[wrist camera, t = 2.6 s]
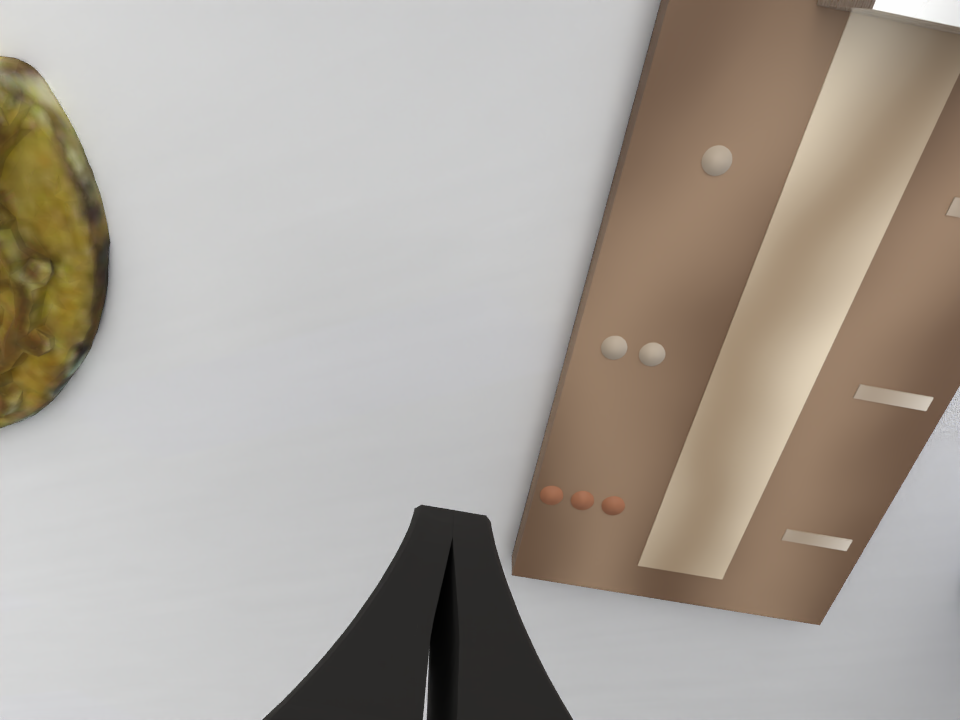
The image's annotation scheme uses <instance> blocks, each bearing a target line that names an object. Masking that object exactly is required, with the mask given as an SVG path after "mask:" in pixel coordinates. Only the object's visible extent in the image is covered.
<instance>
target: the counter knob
mask: <svg viewBox="0 0 960 720" xmlns="http://www.w3.org/2000/svg"><path fill="white" fill-rule="evenodd" d="M817 5H818V6H823V7H828V8H833V9H838V10H842V11H847V12H852V13H857V14H862V15H867V16H872V17H876V18H881V19H886V20H891V21H896V22H901V23H905V24H910V25H915V26H920V27H925V28H930V29H934V30H939V31H944V32H949V33H954V34H959V35H960V0H818V3H817Z"/></svg>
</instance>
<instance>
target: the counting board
mask: <svg viewBox="0 0 960 720" xmlns="http://www.w3.org/2000/svg"><path fill="white" fill-rule="evenodd" d="M817 3H818V0H661V3H660V7H659V10H658V14H657V18H656V22H655V25H654V29H653V33H652V36H651V40H650V44H649V48H648V51H647V55H646V59H645V63H644V66H643V70H642V74H641V77H640V81H639V85H638V89H637V92H636V96H635V100H634V103H633V107H632V111H631V115H630V118H629V122H628V126H627V130H626V133H625V137H624V141H623V144H622V148H621V152H620V156H619V159H618V163H617V167H616V170H615V174H614V178H613V182H612V185H611V189H610V193H609V197H608V200H607V204H606V208H605V211H604V215H603V219H602V223H601V226H600V230H599V234H598V237H597V241H596V245H595V249H594V252H593V256H592V260H591V263H590V267H589V271H588V275H587V278H586V282H585V286H584V290H583V293H582V297H581V301H580V304H579V308H578V312H577V316H576V319H575V323H574V327H573V330H572V334H571V338H570V342H569V345H568V349H567V353H566V357H565V360H564V364H563V368H562V371H561V375H560V379H559V383H558V386H557V390H556V394H555V397H554V401H553V405H552V409H551V412H550V416H549V420H548V424H547V427H546V431H545V435H544V438H543V442H542V446H541V450H540V453H539V457H538V461H537V464H536V468H535V472H534V476H533V479H532V483H531V487H530V491H529V494H528V498H527V502H526V505H525V509H524V513H523V517H522V520H521V524H520V528H519V531H518V535H517V539H516V543H515V546H514V550H513V554H512V575H514V576H520V577H526V578H533V579H539V580H545V581H551V582H557V583H563V584H570V585H576V586H582V587H588V588H594V589H600V590H607V591H613V592H619V593H625V594H631V595H637V596H644V597H650V598H656V599H662V600H668V601H674V602H680V603H687V604H693V605H699V606H705V607H711V608H717V609H724V610H730V611H736V612H742V613H748V614H754V615H761V616H767V617H773V618H779V619H785V620H791V621H798V622H804V623H810V624H816V625H820V624H821V622H822V620H823V619H824V617H825V615H826V614H827V612H828V610H829V608H830V607H831V605H832V603H833V602H834V600H835V598H836V596H837V595H838V593H839V591H840V590H841V588H842V586H843V584H844V583H845V581H846V579H847V578H848V576H849V574H850V573H851V571H852V569H853V567H854V566H855V564H856V562H857V561H858V559H859V557H860V555H861V554H862V552H863V550H864V549H865V547H866V545H867V543H868V542H869V540H870V538H871V537H872V535H873V533H874V531H875V530H876V528H877V526H878V525H879V523H880V521H881V519H882V518H883V516H884V514H885V513H886V511H887V509H888V507H889V506H890V504H891V502H892V501H893V499H894V497H895V495H896V494H897V492H898V490H899V489H900V487H901V485H902V483H903V482H904V480H905V478H906V477H907V475H908V473H909V471H910V470H911V468H912V466H913V465H914V463H915V461H916V459H917V458H918V456H919V454H920V453H921V451H922V449H923V448H924V446H925V444H926V442H927V441H928V439H929V437H930V436H931V434H932V432H933V430H934V429H935V427H936V425H937V424H938V422H939V420H940V418H941V417H942V415H943V413H944V412H945V410H946V408H947V406H948V405H949V403H950V401H951V400H952V398H953V396H954V394H955V393H956V391H957V389H958V388H959V386H960V35H959V34H954V33H949V32H944V31H939V30H934V29H930V28H925V27H920V26H915V25H910V24H905V23H901V22H896V21H891V20H886V19H881V18H876V17H872V16H867V15H862V14H857V13H852V12H847V11H842V10H838V9H833V8H828V7H823V6H818V5H817Z"/></svg>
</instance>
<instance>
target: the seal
mask: <svg viewBox="0 0 960 720" xmlns="http://www.w3.org/2000/svg"><path fill="white" fill-rule="evenodd" d="M109 244H110V239H109V233H108V226H107V221H106V216H105V212H104V208H103V203H102V199H101V196H100V192H99V189H98V187H97V184H96V181H95V179H94V175H93V172H92V169H91V167H90V165H89V163H88V160H87V158H86V155H85V153H84V150H83V147H82V145H81V143H80V141H79V139H78V137H77V134H76V132H75V130H74V128H73V127H72V125H71V123H70V121H69V119H68V117H67V116H66V114H65V112H64V111H63V109H62V108H61V106H60V104H59V102H58V101H57V99H56V97H55V96H54V94H53V93H52V91H51V89H50V87H49V86H48V84H47V83H46V81H45V80H44V78H43V77H42V76H41V75H40V74H39V73H38V72H37V70H36V69H35V68H33V67H32V66H31V65H29V64H27V63H25V62H23V61H21V60H18V59H15V58H11V57H2V56H0V428H2V427H5V426H7V425H11V424H14V423H17V422H20V421H22V420H24V419H26V418H28V417H31V416H33V415H35V414H36V413H38V412H39V411H40V410H42V409H43V408H44V407H45V406H47V405H48V404H49V403H50V402H51V401H52V400H53V399H54V398H55V397H56V396H57V395H58V394H59V392H60V391H61V390H62V389H63V388H64V386H65V385H66V384H67V382H68V381H69V380H70V378H71V377H72V375H73V374H74V373H75V371H76V370H77V369H78V368H79V366H80V365H81V363H82V362H83V360H84V359H85V357H86V356H87V354H88V352H89V350H90V349H91V346H92V342H93V339H94V337H95V335H96V333H97V330H98V327H99V322H100V318H101V314H102V310H103V306H104V303H105V297H106V290H107V284H108V250H109Z"/></svg>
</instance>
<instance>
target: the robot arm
mask: <svg viewBox="0 0 960 720" xmlns="http://www.w3.org/2000/svg"><path fill="white" fill-rule="evenodd" d="M429 645H430V646H429ZM428 656H429V673H428V703H427V720H573V719H572V717H571V715H570V714H569V712H568V710H567V709H566V707H565V705H564V704H563V702H562V700H561V699H560V697H559V695H558V693H557V691H556V690H555V688H554V686H553V684H552V682H551V680H550V679H549V677H548V675H547V673H546V671H545V669H544V667H543V665H542V663H541V661H540V659H539V657H538V655H537V653H536V651H535V649H534V647H533V645H532V642H531V640H530V638H529V636H528V634H527V631H526V629H525V627H524V625H523V622H522V620H521V617H520V615H519V613H518V610H517V607H516V605H515V602H514V600H513V597H512V594H511V592H510V589H509V586H508V584H507V581H506V578H505V575H504V572H503V569H502V566H501V562H500V559H499V556H498V552H497V549H496V545H495V541H494V537H493V532H492V528H491V522H490V520H489V519H488V518H487V516H485V515H479V514H473V513H467V512H461V511H455V510H450V509H444V508H438V507H432V506H426V505H421V506H419V507H417V508H415V510H414V514H413V518H412V520H411V523H410V526H409V528H408V531H407V533H406V535H405V537H404V539H403V541H402V543H401V545H400V547H399V549H398V551H397V553H396V555H395V557H394V558H393V560H392V562H391V563H390V565H389V567H388V569H387V570H386V572H385V574H384V575H383V577H382V579H381V580H380V582H379V583H378V585H377V587H376V588H375V590H374V591H373V592H372V594H371V595H370V597H369V598H368V600H367V601H366V603H365V604H364V605H363V607H362V608H361V610H360V611H359V613H358V614H357V615H356V617H355V618H354V620H353V621H352V622H351V623H350V625H349V626H348V627H347V629H346V630H345V631H344V633H343V634H342V635H341V636H340V638H339V639H338V640H337V641H336V642H335V644H334V645H333V646H332V647H331V648H330V650H329V651H328V652H327V653H326V654H325V656H324V657H323V658H322V659H321V660H320V661H319V662H318V664H317V665H316V666H315V667H314V668H313V669H312V670H311V671H310V672H309V673H308V675H307V676H306V677H305V678H304V679H303V680H302V681H301V682H300V683H299V684H298V685H297V686H296V688H295V689H294V690H293V691H292V692H291V693H290V694H289V695H288V696H287V697H286V698H285V699H284V700H283V701H282V702H281V703H280V704H279V705H277V706H276V707H275V708H274V709H273V710H272V711H271V712H270V713H269V714H268V715H267V716H266V717H265V718H264V719H263V720H423V711H424V699H425V688H426V677H427V666H428Z"/></svg>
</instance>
